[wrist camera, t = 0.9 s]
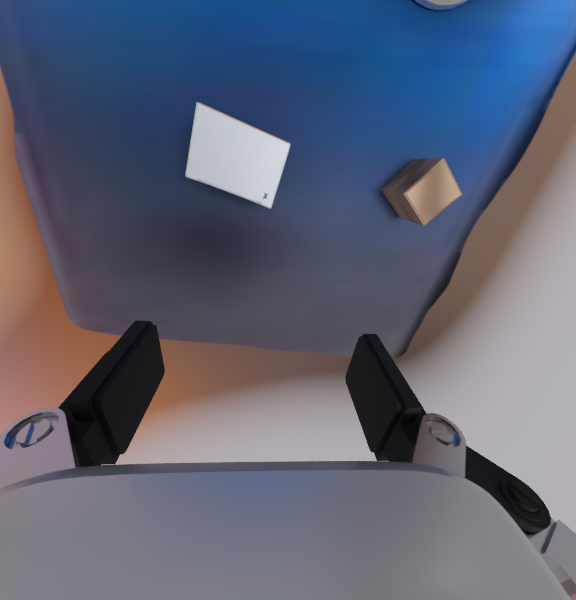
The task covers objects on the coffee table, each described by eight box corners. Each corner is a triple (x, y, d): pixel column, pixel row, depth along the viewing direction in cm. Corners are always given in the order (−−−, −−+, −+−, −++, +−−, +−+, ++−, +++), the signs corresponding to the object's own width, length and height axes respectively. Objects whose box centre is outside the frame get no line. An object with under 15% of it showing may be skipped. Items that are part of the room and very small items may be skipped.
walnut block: (413, 159, 30) (444, 157, 25) (430, 190, 32) (462, 194, 27) (380, 189, 32) (403, 193, 26) (399, 216, 34) (424, 225, 28)
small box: (285, 151, 29) (294, 143, 19) (270, 198, 31) (272, 210, 22) (219, 121, 27) (195, 97, 18) (209, 174, 29) (183, 176, 20)
